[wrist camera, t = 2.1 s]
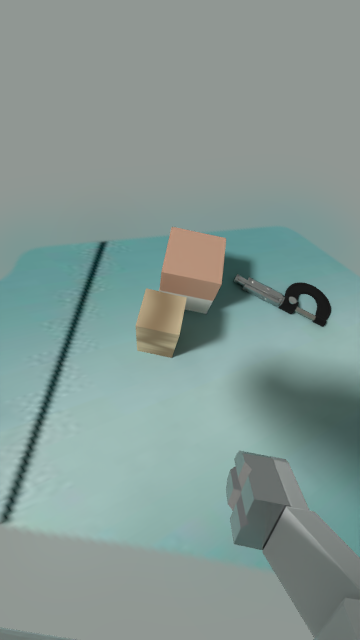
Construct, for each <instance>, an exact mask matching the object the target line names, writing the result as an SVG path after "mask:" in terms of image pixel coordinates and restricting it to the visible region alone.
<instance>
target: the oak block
mask: <svg viewBox="0 0 360 640" xmlns="http://www.w3.org/2000/svg"><path fill="white" fill-rule="evenodd" d="M186 299H187V297H182V296H178V295H173V294H169V293H164V292H159V291H155V290H150V289H146V291H145V294H144V298H143V302H142V305H141V309H140V312H139V316H138V320H137V323H136V337H137V351H142V352H147V353H151V354H156V355H161V356H166V357H170V358H172V356H173V353H174V350H175V347H176V344H177V341H178V338H179V335H180V330H181V325H182V320H183V315H184V309H185V304H186Z"/></svg>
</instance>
